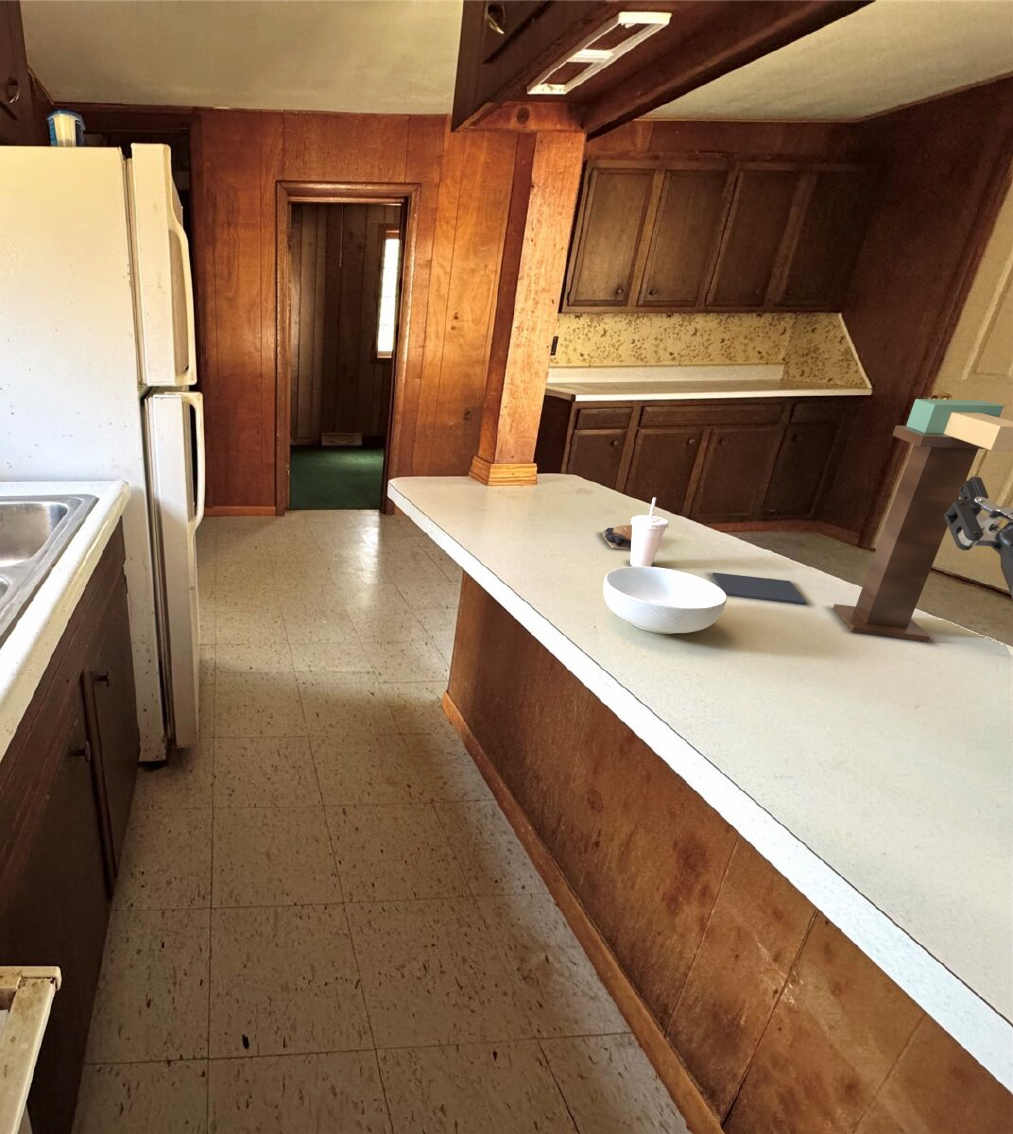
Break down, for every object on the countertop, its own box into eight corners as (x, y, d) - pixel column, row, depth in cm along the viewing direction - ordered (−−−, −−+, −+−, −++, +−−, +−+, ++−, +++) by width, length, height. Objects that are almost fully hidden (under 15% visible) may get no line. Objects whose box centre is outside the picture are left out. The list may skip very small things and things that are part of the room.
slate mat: (789, 583, 116) (790, 580, 116) (805, 604, 108) (806, 602, 108) (712, 574, 121) (712, 572, 121) (722, 594, 113) (722, 592, 113)
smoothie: (659, 562, 128) (674, 496, 123) (658, 573, 123) (673, 504, 118) (623, 557, 131) (636, 492, 126) (621, 567, 126) (634, 500, 121)
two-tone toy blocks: (969, 428, 91) (980, 400, 89) (1047, 452, 76) (1061, 419, 74) (905, 426, 94) (915, 399, 92) (968, 449, 79) (981, 417, 77)
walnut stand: (902, 617, 102) (977, 427, 91) (928, 642, 95) (1013, 438, 83) (832, 609, 106) (895, 425, 95) (851, 632, 99) (923, 435, 87)
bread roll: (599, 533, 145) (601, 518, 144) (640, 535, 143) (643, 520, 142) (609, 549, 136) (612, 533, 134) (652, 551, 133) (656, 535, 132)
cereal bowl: (627, 648, 96) (636, 607, 94) (581, 602, 112) (587, 566, 109) (741, 647, 95) (753, 606, 93) (678, 601, 111) (687, 564, 108)
